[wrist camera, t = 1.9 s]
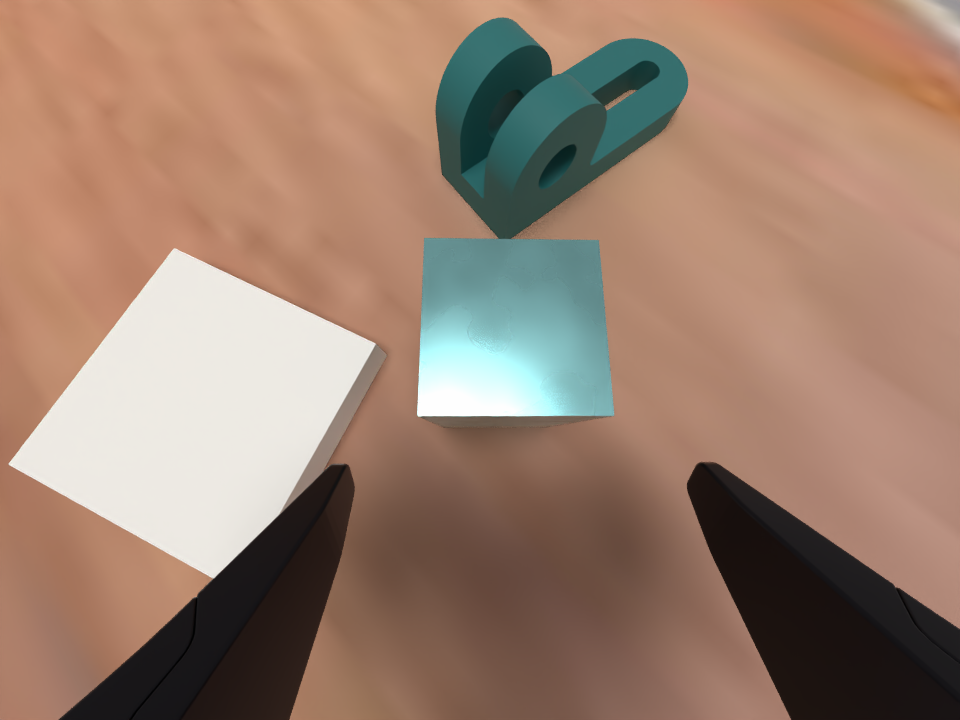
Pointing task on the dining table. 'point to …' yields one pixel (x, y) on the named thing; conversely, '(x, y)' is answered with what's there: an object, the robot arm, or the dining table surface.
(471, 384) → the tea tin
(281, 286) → the dining table surface
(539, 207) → the bracket
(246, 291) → the riser block
